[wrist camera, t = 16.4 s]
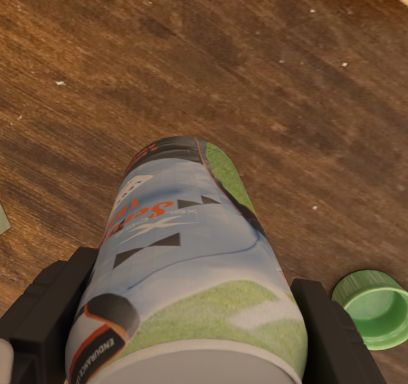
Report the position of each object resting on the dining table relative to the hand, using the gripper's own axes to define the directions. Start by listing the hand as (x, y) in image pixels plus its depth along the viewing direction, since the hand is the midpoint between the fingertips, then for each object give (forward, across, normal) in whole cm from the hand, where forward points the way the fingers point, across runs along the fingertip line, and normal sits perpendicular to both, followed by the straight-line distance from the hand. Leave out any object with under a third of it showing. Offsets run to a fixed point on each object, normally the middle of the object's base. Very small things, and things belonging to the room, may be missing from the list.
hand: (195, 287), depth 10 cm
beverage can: (+8, +1, 0) cm, 8 cm away
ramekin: (+25, -22, +17) cm, 37 cm away
